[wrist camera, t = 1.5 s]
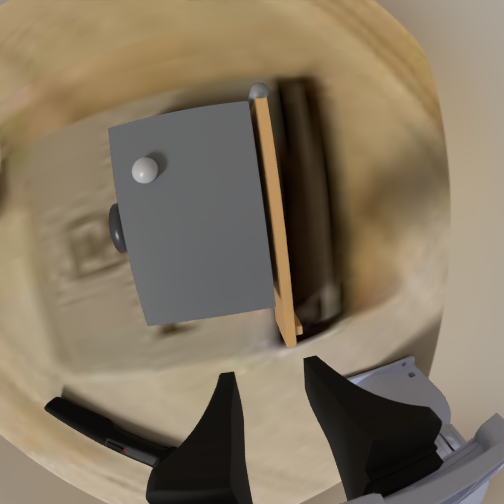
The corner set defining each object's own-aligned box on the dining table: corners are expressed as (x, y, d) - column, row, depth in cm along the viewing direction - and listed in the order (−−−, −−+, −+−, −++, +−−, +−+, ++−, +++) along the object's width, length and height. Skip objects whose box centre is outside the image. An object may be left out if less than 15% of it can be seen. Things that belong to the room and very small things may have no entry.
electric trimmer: (57, 381, 21) (44, 399, 18) (184, 447, 25) (182, 468, 22) (53, 400, 22) (42, 417, 19) (172, 460, 25) (169, 480, 22)
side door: (262, 101, 17) (273, 81, 13) (289, 317, 21) (303, 344, 17) (243, 102, 17) (249, 83, 13) (273, 320, 21) (284, 348, 17)
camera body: (242, 117, 18) (249, 98, 13) (265, 284, 21) (277, 310, 16) (116, 141, 17) (89, 131, 13) (147, 302, 20) (131, 331, 16)
